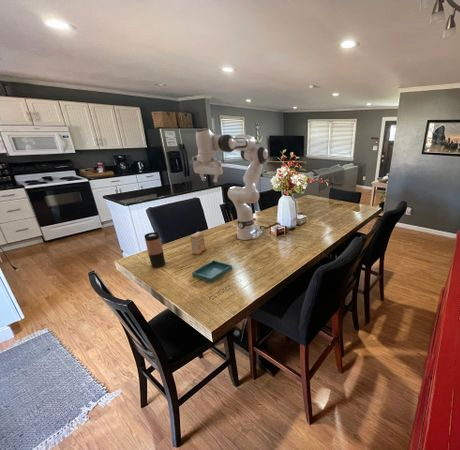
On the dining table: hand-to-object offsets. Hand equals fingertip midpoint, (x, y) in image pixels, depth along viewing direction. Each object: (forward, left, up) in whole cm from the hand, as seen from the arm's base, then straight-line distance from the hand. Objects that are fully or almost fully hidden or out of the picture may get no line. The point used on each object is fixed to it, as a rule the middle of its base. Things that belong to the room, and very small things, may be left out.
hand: (209, 181), depth 145 cm
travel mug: (+29, -20, -48) cm, 60 cm away
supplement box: (+5, -12, -48) cm, 50 cm away
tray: (+21, +16, -48) cm, 55 cm away
